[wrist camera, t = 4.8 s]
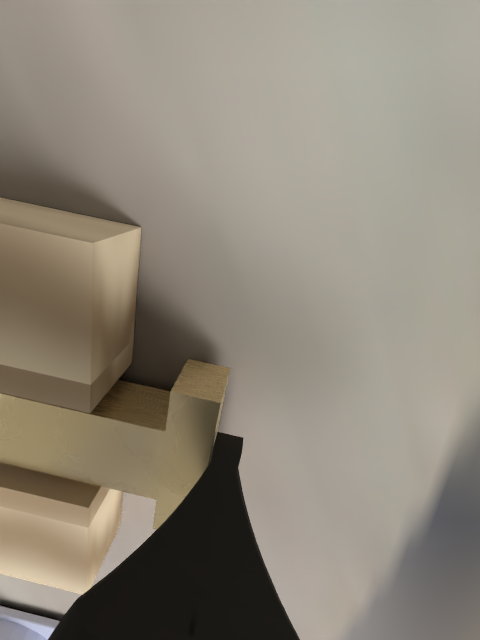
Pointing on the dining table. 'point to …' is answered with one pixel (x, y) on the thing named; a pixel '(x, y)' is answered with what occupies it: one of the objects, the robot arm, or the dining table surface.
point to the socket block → (61, 376)
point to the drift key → (123, 436)
